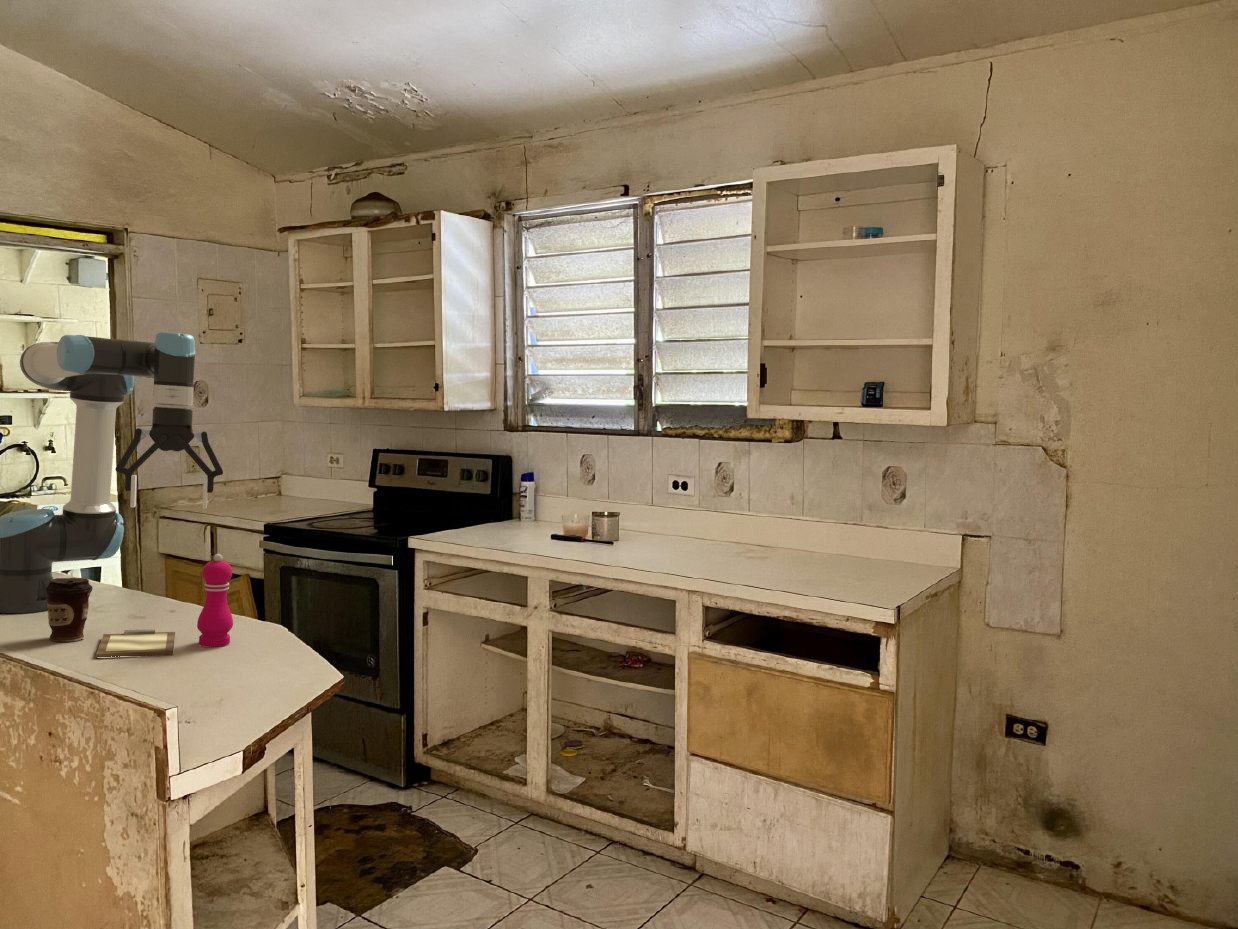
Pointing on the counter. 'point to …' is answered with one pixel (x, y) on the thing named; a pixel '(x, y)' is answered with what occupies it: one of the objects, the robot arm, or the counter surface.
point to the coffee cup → (68, 607)
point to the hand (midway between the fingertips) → (169, 507)
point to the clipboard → (137, 643)
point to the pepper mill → (215, 605)
